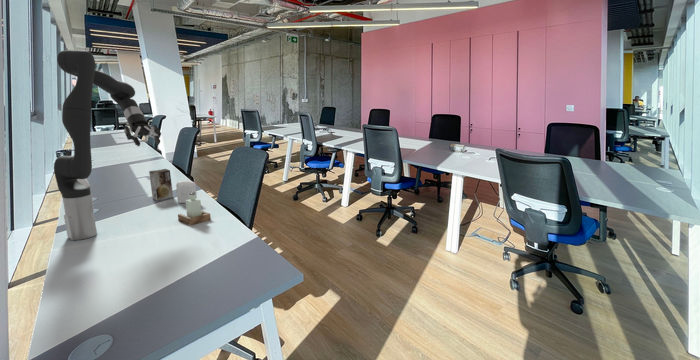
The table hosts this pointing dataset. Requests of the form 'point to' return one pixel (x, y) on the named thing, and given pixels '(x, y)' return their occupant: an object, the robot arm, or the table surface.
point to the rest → (194, 218)
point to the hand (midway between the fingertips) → (149, 144)
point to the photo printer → (185, 190)
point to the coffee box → (161, 184)
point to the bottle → (193, 206)
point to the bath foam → (86, 183)
